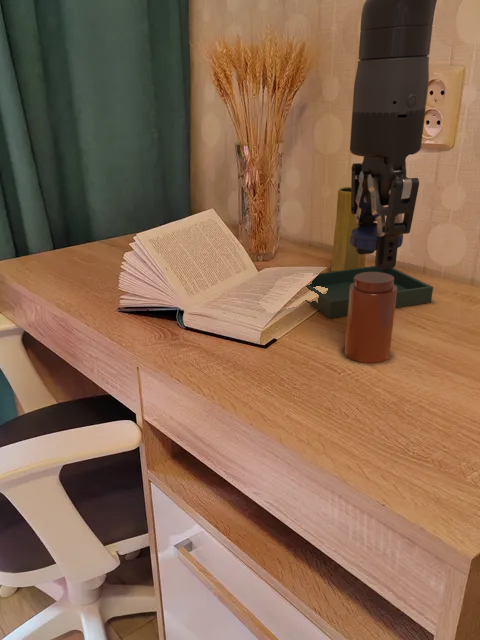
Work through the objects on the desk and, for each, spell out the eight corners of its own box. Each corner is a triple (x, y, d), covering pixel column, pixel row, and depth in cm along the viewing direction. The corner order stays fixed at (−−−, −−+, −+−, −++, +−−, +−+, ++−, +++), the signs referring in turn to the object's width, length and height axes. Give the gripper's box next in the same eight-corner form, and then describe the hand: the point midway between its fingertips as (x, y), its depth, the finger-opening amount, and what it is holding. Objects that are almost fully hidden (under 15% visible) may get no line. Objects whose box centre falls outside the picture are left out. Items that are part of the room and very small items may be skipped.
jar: (373, 342, 80) (380, 268, 75) (398, 358, 75) (408, 280, 71) (336, 349, 79) (341, 274, 74) (360, 366, 74) (367, 287, 69)
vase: (343, 263, 112) (349, 184, 105) (371, 269, 108) (379, 188, 101) (323, 271, 108) (328, 190, 102) (352, 278, 104) (359, 194, 98)
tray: (384, 278, 103) (386, 264, 102) (431, 302, 92) (433, 286, 91) (292, 291, 100) (293, 276, 99) (329, 318, 88) (330, 302, 87)
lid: (346, 249, 70) (347, 236, 69) (355, 236, 74) (356, 224, 74) (398, 252, 67) (399, 238, 67) (404, 239, 72) (406, 226, 71)
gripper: (333, 105, 70) (326, 247, 78) (380, 112, 57) (365, 281, 65) (395, 101, 70) (382, 243, 78) (455, 107, 58) (432, 275, 66)
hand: (374, 259), depth 72 cm, fingers closed on lid, 5 cm apart
